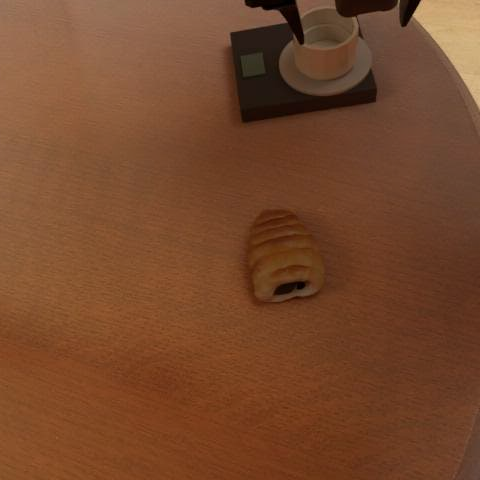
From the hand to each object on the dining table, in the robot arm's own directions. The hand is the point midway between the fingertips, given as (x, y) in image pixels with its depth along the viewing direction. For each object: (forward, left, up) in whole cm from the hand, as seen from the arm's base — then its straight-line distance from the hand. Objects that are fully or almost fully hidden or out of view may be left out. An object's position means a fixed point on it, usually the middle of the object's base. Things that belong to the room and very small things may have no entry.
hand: (351, 33), depth 69 cm
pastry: (+9, +18, -11) cm, 23 cm away
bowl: (+2, -5, -8) cm, 10 cm away
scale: (+4, -7, -10) cm, 13 cm away
